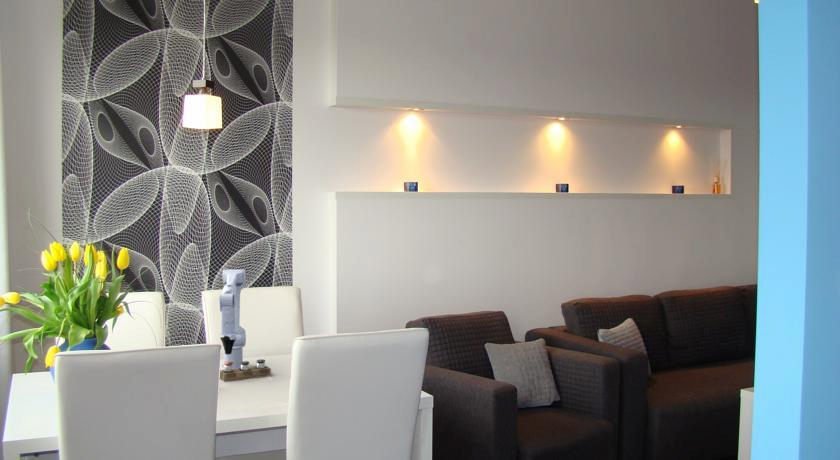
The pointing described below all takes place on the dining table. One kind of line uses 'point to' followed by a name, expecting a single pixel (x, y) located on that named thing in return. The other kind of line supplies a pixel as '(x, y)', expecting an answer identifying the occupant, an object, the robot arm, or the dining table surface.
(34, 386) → the dining table surface
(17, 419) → the dining table surface
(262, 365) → the plunger
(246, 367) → the plunger
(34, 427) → the dining table surface
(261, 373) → the jig
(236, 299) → the robot arm
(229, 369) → the plunger red
